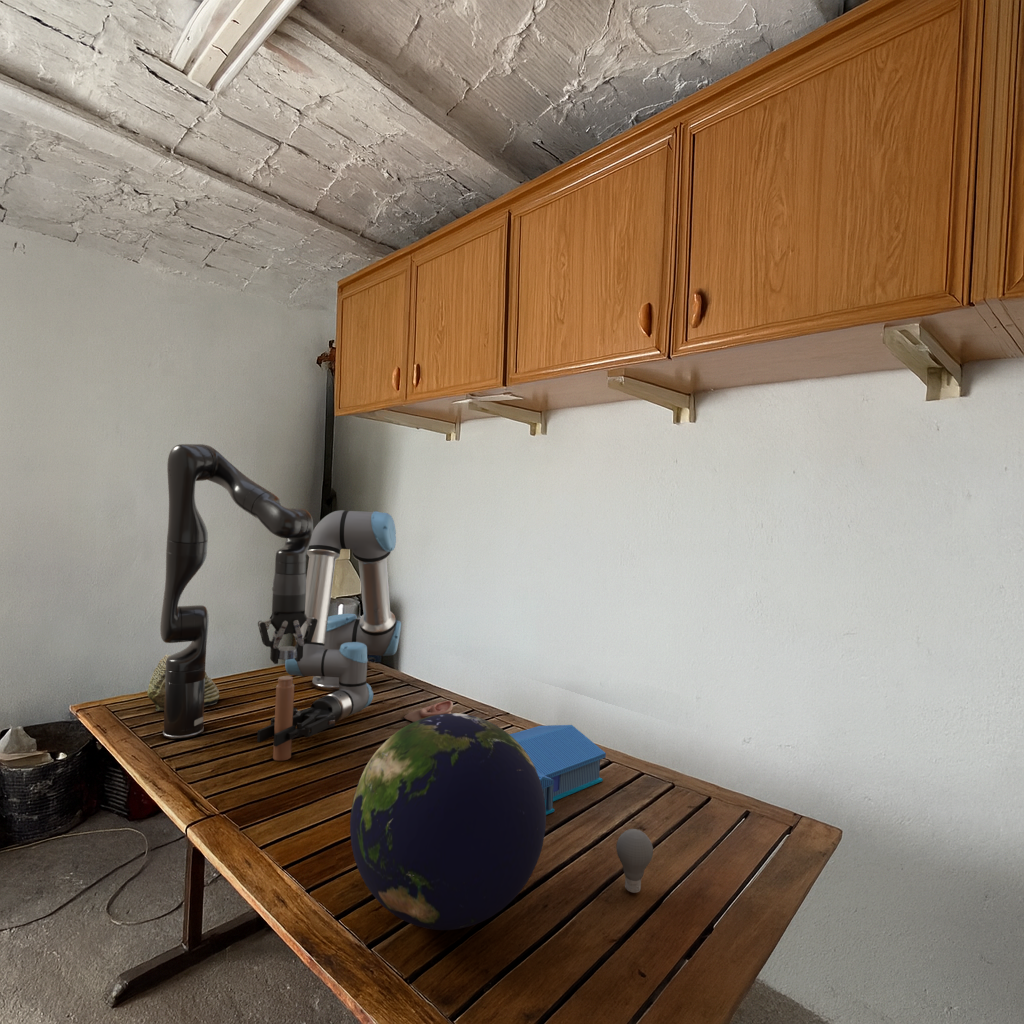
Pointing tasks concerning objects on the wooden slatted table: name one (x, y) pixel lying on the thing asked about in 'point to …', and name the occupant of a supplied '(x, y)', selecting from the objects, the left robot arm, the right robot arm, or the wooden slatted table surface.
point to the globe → (448, 821)
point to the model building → (561, 760)
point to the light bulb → (634, 857)
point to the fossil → (158, 687)
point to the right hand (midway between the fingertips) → (267, 738)
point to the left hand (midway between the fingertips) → (286, 661)
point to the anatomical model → (430, 711)
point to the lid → (287, 652)
